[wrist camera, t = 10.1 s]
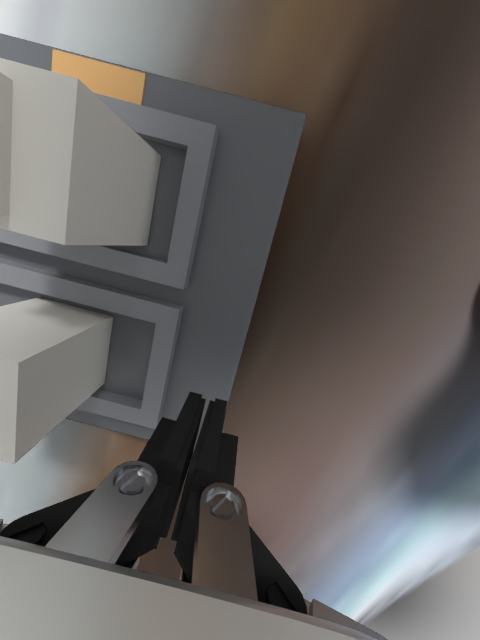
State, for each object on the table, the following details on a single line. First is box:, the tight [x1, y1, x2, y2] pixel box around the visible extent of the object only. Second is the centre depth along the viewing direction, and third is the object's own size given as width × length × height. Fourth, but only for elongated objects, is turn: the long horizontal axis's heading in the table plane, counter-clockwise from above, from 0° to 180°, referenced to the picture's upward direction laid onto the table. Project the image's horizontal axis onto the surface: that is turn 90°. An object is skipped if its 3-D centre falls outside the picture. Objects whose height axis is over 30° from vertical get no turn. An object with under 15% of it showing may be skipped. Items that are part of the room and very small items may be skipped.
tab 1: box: [0, 58, 161, 246], centre depth 10 cm, size 4×4×7 cm
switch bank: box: [0, 33, 307, 451], centre depth 14 cm, size 18×24×2 cm
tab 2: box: [0, 297, 113, 464], centre depth 12 cm, size 4×4×7 cm
